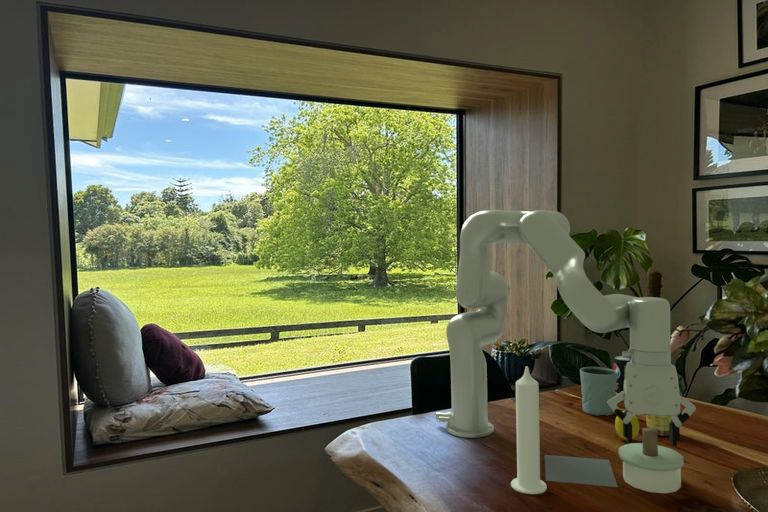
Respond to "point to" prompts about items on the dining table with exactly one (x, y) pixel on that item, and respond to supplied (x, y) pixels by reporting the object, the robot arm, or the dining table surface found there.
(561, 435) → the dining table surface
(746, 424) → the dining table surface
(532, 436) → the candle
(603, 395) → the blue-green cup
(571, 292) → the robot arm
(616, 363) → the beverage can
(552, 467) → the mat
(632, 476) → the bowl
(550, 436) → the dining table surface
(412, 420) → the dining table surface
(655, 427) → the sauce bottle
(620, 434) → the lemon
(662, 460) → the lid
